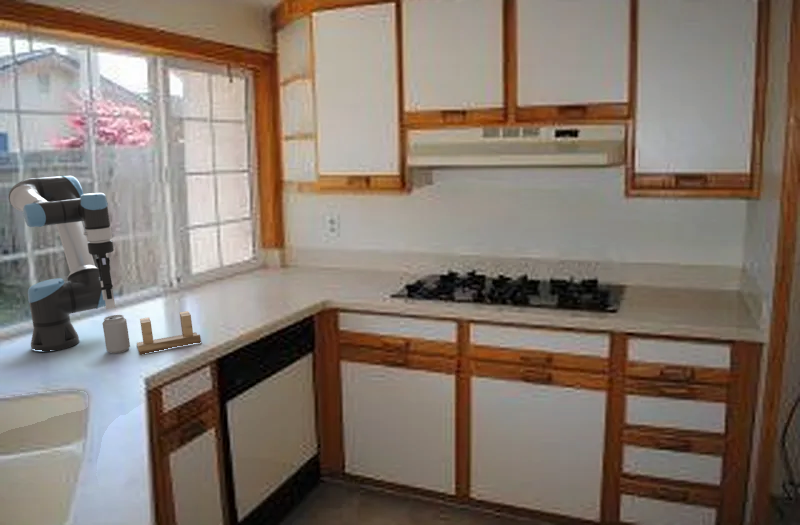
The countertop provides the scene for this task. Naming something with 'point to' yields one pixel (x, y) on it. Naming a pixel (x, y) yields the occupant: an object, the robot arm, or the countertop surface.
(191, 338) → the wooden u-shaped stand
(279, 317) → the countertop surface
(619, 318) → the countertop surface
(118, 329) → the can
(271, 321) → the countertop surface
